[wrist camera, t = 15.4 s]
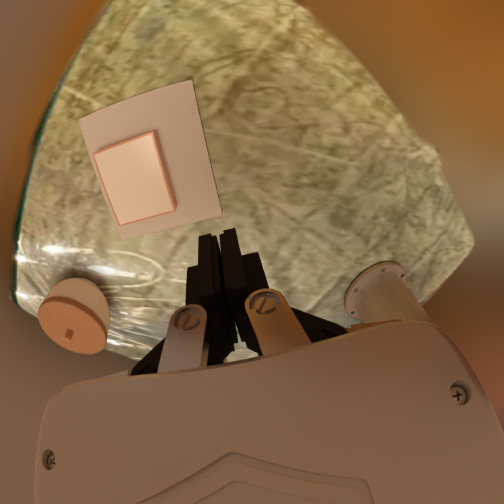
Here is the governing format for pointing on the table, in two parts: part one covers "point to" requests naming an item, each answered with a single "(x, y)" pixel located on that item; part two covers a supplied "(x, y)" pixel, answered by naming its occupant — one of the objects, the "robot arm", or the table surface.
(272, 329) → the robot arm
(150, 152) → the block
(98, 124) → the mat
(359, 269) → the table surface
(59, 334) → the lidded jar
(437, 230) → the table surface
